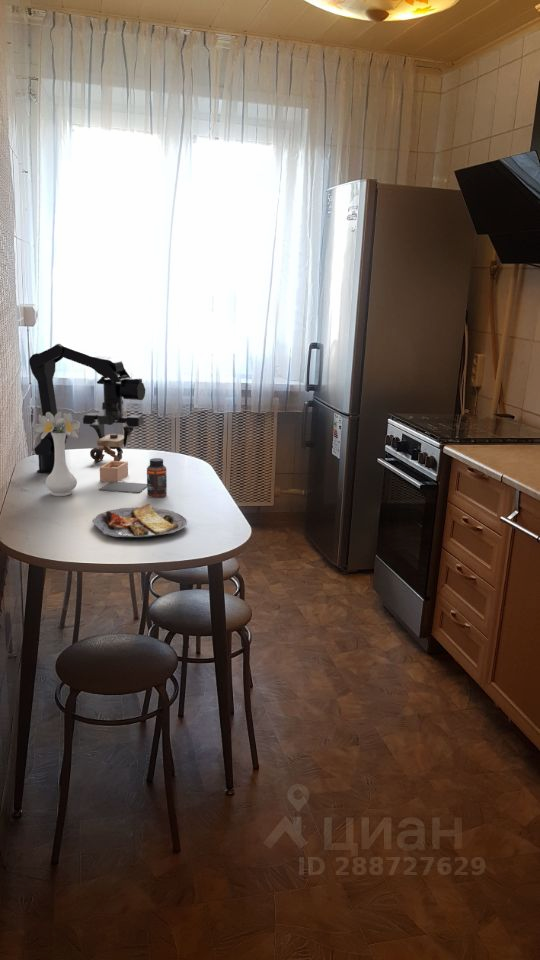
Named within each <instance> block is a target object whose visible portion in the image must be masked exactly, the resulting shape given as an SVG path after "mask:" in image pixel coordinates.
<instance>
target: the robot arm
mask: <svg viewBox="0 0 540 960" xmlns="http://www.w3.org/2000/svg"><path fill="white" fill-rule="evenodd" d="M62 359H66V360H69V361H72V362H74V363H78V364H81V365H83V366H86V367H88V368H91V369H93V371H95V373H97V374H99V375H100V376H101V377H100V379H98V380H97V381H96V384H97V385H103V402H102V404H101V409H100V410H99V411H98V413H97V412H90V413H89V412H88V413H87V414H84V415H83V417H82V423H83V424H84V425H89V427H91V428H93V429H94V430H95V432H96V435H97V437H98V439H100V438H102V437H104V436H106V435H105V425H108V426H113V424H114V423H115V424H125V425H124V426H123V427H122V428H123V435H124V444H123V446H124V448H125V447H127V446H128V442H129V441H128V440H129V437H130V438H131V434H132V432H133V431H134V429H135V428H138V427H140V426H142V425H143V424H144V417H143V415H137V414H136V415H135V414H133V415H132V414H131V415H129V416H126V417H125V416H124V412H123V405H124V400H133V401H143V400H144V398H145V396H146V388H145V384H144V382H143V379H142V378H131V376H130V374H129V373H128V371H127V370H126V369H125V367H124V363H123V361H122V360H121V359H119V358H116V357H110V356H101V355H97V354H93V353H90V352H88V351H85V350H83V349H80V348H78V347H75V346H71V345H69V344H68V343H65V342H61V343H56V344H55V345H53V346H52V347H50V348H48V349H46V350H43V351H42V352H38V353H33V354H32V355H31V356H30V357H29V360H28V363H29V368H30V371H31V373H32V375H33V377H34V378H35V380H36V381H37V389H38V394H39V395H38V396H39V400H40V408H41V417H42V416H45V417H46V413H47V412H50V413H51V414H52V415H53V416H54V419H55V415H56V414H57V413H58V409H57V403H56V401H57V400H56V395H55V388H54V380H53V379H54V375H55V373H56V364H57V363H58V362H60V361H61V360H62ZM123 399H124V400H123ZM54 428H56V427H54ZM56 429H57V428H56ZM60 429H61V427H60V428H59V431H60ZM53 431H57V430H53ZM42 433H43V432H42ZM42 433H41V434H42ZM41 434H40V435H41ZM67 439H69V437H68V434H66V437H65V445H66V444H67ZM34 453H35V455H36V456H38V469H37V470H36V472H37V473H42V474H43V473H44V474H51V472H52V470H53V468H54V462H55V447H54V440H53V436H52V435H51V432H49V433H48V434H47V435H46V436H45V437H44V438H43V439H41V438H40V443H39V444H37V445H36V446H35V447H34Z"/></svg>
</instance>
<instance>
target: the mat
mask: <svg viewBox="0 0 540 960" xmlns="http://www.w3.org/2000/svg"><path fill="white" fill-rule="evenodd" d="M145 489H147V483H141V482H140V483H139V482H127V481H119V482H114V481H110V482H109V481H108V483H106V484H105V485H102V486H101V487H100V488H99V489H98V491H103V492H104V491H105V492H106V491H107V492H115V491H118V493H129V492H132V494H140V493H141V492H143V491H144V490H145ZM142 490H143V491H142Z"/></svg>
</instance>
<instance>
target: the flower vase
mask: <svg viewBox="0 0 540 960" xmlns="http://www.w3.org/2000/svg"><path fill="white" fill-rule="evenodd" d="M62 414H63V418H62ZM38 422H39V423H36V424H34V426H33V430H34V431H35V435H34V439H35V440H36V439H37V438H38V437H39V436H40V440H41V439H43V438H44V437H45V436H46V435H47V434H48V433H49V432H51V435H52V436H53V440H54V447H55V462H54V468H53V470H52V472H51V473H49V475H48V476H47V477H46V479H45V481H44V483H45V484H44V485H45V488H46V489H47V490H48V491H50V495H52V496H54V497H65V496H69V495H71V494H72V493H73V490H75V488H76V487H77V485H78V481H77V478H76V477H75V475H74V474H73V473H71V471H70V470H69V468H68V465H67V462H66V461H67V460H66V447H65V445H66V444H65V437H66V435H67V436H70V437H71V438H76V439H79V435H78V434H80V430H79V429H80V428H81V427H80V426H81V422H80V421H78V420H76V419H73V415H72V413H70V412H69V413H66V412H63V413H62V411H57V414H56V415H55V419H54V416H53V415H52V414H51V413H50V412H47V413H46V417H45V416H42V414H40V413H39V415H38ZM54 427H56V428H57V429H56V428H54ZM60 427H61V429H60V431H59V428H60ZM53 430H57V431H53ZM42 432H43V433H42ZM41 433H42V434H41Z"/></svg>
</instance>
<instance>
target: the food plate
mask: <svg viewBox="0 0 540 960" xmlns="http://www.w3.org/2000/svg"><path fill="white" fill-rule="evenodd" d="M91 523H92V524H93V525H94V526H95V527H96V529H98V530H99V531H101V532H102V534H104V535H107V536H110V537H111V536H112V537H115V538H120V537H121V538H133V539H134V538H139V539H140V538H150V537H157V536H161V535H166V534H173V533H175V532H178V531H181V530H182V529H184V528H185V527H186V526H187V525H188V520H187V519H186V518H185V517H184V516H183V515H182V514H180V513H178V512H175V511H173V510H169V509H165V508H159V507H157V508H156V507H153V506H152V507H151V504H150V503H147V504H145V505H142V506H140V507H139V506H138V507H137V506H135V507H123V508H122V507H120V508H116V509H111V510H105V512H101V513H99V514H97V515H96V516H95V517H94V518H93V519H92V521H91ZM135 523H136V524H135ZM149 533H152V534H149Z"/></svg>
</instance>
